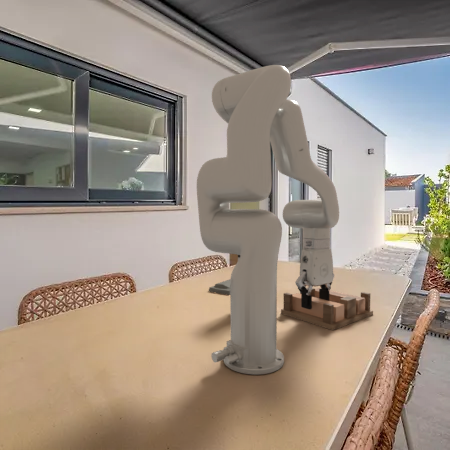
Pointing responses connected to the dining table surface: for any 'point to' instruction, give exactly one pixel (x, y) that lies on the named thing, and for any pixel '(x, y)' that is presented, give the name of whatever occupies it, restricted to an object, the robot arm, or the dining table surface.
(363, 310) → the rack
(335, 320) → the slat
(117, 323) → the dining table surface
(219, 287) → the soap mold
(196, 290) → the dining table surface
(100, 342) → the dining table surface
